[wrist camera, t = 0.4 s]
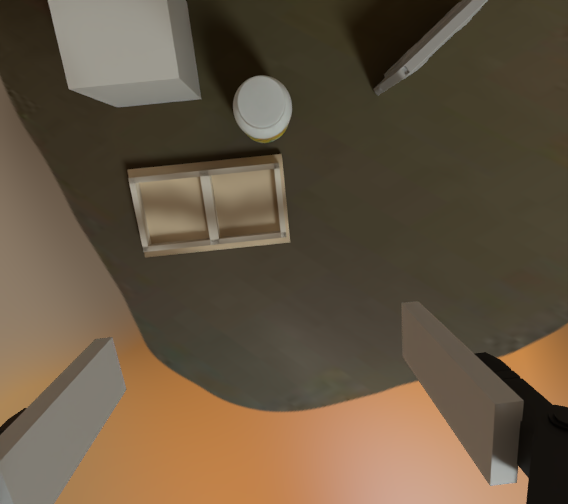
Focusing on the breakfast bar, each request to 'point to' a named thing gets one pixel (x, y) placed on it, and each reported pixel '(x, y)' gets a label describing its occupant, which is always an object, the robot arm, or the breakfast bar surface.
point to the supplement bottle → (262, 108)
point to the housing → (127, 50)
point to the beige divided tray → (210, 205)
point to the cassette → (430, 43)
